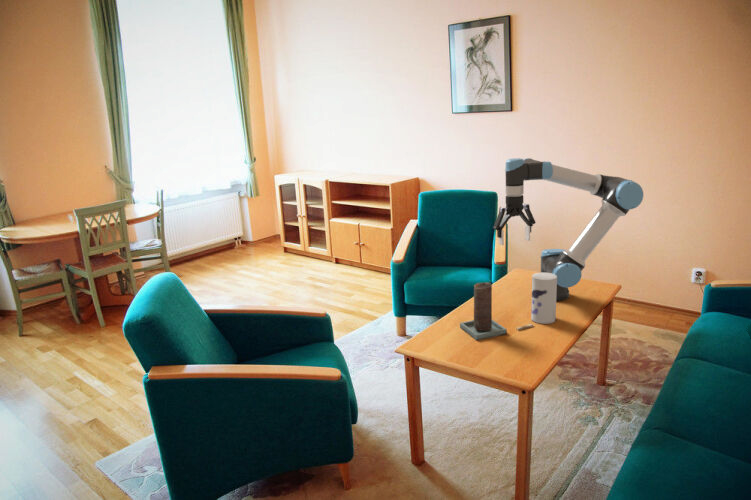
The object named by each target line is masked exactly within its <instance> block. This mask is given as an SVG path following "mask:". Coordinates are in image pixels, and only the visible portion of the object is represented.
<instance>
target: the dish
mask: <svg viewBox="0 0 751 500" xmlns="http://www.w3.org/2000/svg"><path fill="white" fill-rule="evenodd" d="M459 328H460V329H461V330H462V331H463V332H465V333H466V334H467V335H469V336H470V337H471V338H473V339H474V340H475V341H480V340H485V339H489V338H495V337H500V336H504V335H507V333H508V332H507V330H508V329H507V328H506V327H504V326H503V325H501V324H499V322H497V321H495V320H494V319H492V328H491V329H490V330H485V331H484V330H476V329H475V328H474V319H473V320H472V319H471V320H466V321H463V322H459Z"/></svg>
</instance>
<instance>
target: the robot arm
mask: <svg viewBox="0 0 751 500" xmlns="http://www.w3.org/2000/svg"><path fill="white" fill-rule="evenodd" d="M504 171H505V195H506V196H505V207H502V206H500V207H499V210H498V214H497V217H496V219H495V222H494V224H493V226H492V228H493V230H496V234H497V235H496V236H497V238H498V245H501V246H504V245H505V244H504V243H505V242H504V240H505V239H504V235H505V234H504V230H503V229H504V228H505V226H506V225H507V223H508V221H509V220H510V219H511V218H513V217H520V218H521V220H523V222H524V223H525V224H526V225H524V240H526V241H529V242H530V241H531V233H532V227H533V226H534V225H535V224H536V219H535V218H534V216H533V214H532V211H531V208H530V204H529V203H524V192H525V191H524V187H525V186H524V181H536V180H537V181H539V180H541V181H547V182H550V183H551V182H552V183H555V184H559V185H563V186H565V187H571V188H574V189H578V190H582V191H586V192H589V193H590V195H592V196H596V197H598V198H601V207H599V209H598V210H597V212H596V213H595V214H594V215H593V216H592V218H591V219H590V221H589V222H588V223H587V224H586V226H585V227H584V228H583V230H582V231H581V233H580V234H579V235H578V236H577V238H576V239H575V240H574V242H573V243H572V244H571V245H570V247H569V248H568V249H563V248H545V249H543V250H541V252H540V254H541V255H540V273H542V272H544V273H552V274H555V275H556V276H557V293H556V302H559V301H560V302H561V301H565V300H568V299H569V298H570V290H569V288H571V287H574V286H576V285H577V284H579V283H580V281H581V279H582V271H583V269H585V268H586V260H587V259H588V258H589V257H590V255H591V254H592V252H593V251H594V250H595V249H596V247H597V246H598V245H599V244H600V243H601V241H602V240H603V239H604V237H605V236H606V235H607V233H608V232H609V230H611V228H612V227H613V226H614V224H615V223H616V222H617V220H618V219H619V218H621V217H624V216H626V215H627V214H628V213H629V212H630V210H634V209H636V208H637V207H639V206H640V205H641V204H642V202H643V200H644V190H643V187H642V186H641V185H640V184H639V183H638V182H636V181H634V180H632V179H628V178H627V179H626V178H623V177H620V176H612V175H611V176H610V175H604V174H600V173H597V174H590V173H588V172H587V173H586V172H582V171H579V170H575V169H571V168H569V167H568V168H567V167H564V166H559V165H556V164H553V163H552V162H551V161H539V160H535V159H533V158H527V157H526V158H508V159H507V160H506V161H505V168H504ZM523 210H524V211H523Z"/></svg>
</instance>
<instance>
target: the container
mask: <svg viewBox="0 0 751 500" xmlns="http://www.w3.org/2000/svg"><path fill="white" fill-rule="evenodd" d="M531 282H532V283H531V286H532V287H531V315H530V318H531V320H532V322H534V323H537V324H542V325H543V324H545V325H548V324H553V323H555V322H556V319H557V318H556V317H557V316H556V315H557V314H556V312H557V301H556V293H557V276H556V275H555V274H552V273H544V272H542V273H541V272H536V273H533V274H532V275H531Z"/></svg>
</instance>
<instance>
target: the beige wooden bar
mask: <svg viewBox="0 0 751 500" xmlns="http://www.w3.org/2000/svg"><path fill="white" fill-rule="evenodd" d="M533 327H534V324H533V323H529V324H524V325H522V326H518V327H515V328H516V331H521V330H526V329H530V328H533Z"/></svg>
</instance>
